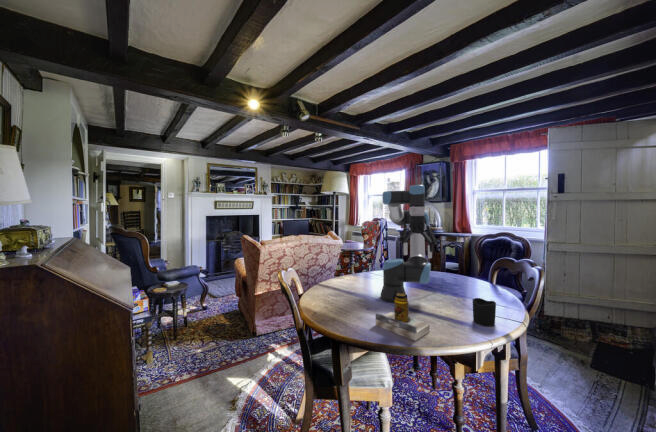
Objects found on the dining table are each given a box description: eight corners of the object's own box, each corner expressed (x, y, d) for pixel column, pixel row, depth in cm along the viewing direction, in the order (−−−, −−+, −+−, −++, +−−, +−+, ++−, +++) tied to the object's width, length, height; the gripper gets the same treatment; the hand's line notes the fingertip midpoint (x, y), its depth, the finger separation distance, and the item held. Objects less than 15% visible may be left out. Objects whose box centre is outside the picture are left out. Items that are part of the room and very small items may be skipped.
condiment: (393, 323, 118) (392, 296, 117) (394, 315, 126) (394, 290, 125) (410, 325, 115) (410, 297, 115) (410, 317, 123) (410, 291, 123)
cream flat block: (375, 325, 123) (375, 313, 122) (390, 317, 131) (390, 306, 131) (414, 341, 108) (414, 327, 108) (429, 331, 116) (429, 318, 116)
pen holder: (487, 318, 129) (487, 297, 129) (500, 326, 120) (500, 304, 119) (468, 318, 129) (468, 298, 128) (480, 327, 119) (480, 305, 119)
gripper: (392, 215, 143) (392, 254, 144) (437, 215, 125) (437, 260, 126) (400, 214, 149) (400, 252, 149) (444, 215, 130) (444, 258, 131)
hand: (417, 256), depth 137 cm, fingers open, 13 cm apart
